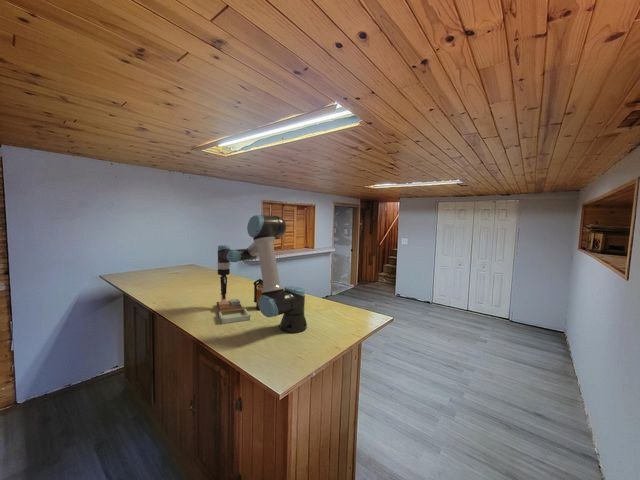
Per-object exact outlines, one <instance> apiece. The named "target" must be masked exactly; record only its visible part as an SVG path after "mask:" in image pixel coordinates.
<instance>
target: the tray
mask: <svg viewBox="0 0 640 480" xmlns="http://www.w3.org/2000/svg"><path fill="white" fill-rule="evenodd" d="M243 309H244V313H237V314H229V315H222V313H221V312H219V311H218V318H219V321H220V323H221V325H226V324H233V323H239V322H240V323H241V322H246V321H251V314H250V313H249V311H248V310H247V308H243Z"/></svg>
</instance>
